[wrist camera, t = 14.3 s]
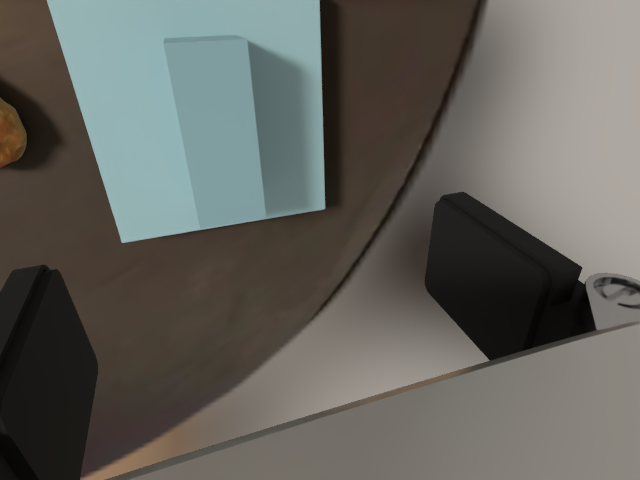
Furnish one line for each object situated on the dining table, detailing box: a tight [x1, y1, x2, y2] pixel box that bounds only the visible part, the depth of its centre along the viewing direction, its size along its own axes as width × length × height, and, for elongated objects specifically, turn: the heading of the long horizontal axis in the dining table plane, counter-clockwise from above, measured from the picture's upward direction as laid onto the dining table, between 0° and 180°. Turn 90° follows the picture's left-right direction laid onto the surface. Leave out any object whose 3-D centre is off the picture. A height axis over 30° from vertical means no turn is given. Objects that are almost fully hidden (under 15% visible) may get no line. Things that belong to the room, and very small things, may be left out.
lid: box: [47, 0, 325, 243], centre depth 25 cm, size 15×15×7 cm
